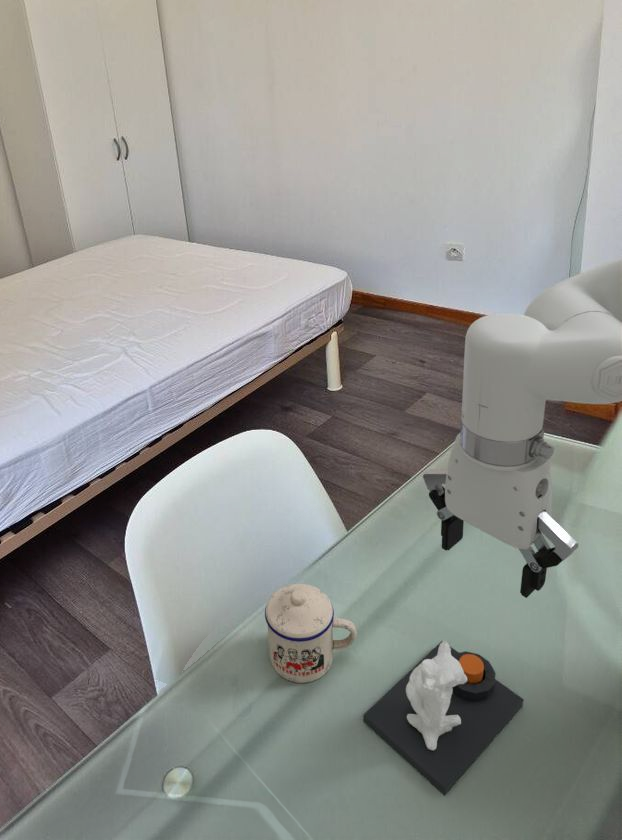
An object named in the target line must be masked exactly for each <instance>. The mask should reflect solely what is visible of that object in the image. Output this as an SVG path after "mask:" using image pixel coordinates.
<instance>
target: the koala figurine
mask: <svg viewBox="0 0 622 840" xmlns="http://www.w3.org/2000/svg"><path fill="white" fill-rule="evenodd" d="M442 641H443V642H442V643H441V644H440V646H439V648H438V654H437V656H435V657H434V658H432V659H425V660H423V661H422V663H421V664H420V665H419V666H418V667H416V668H415V669H414V670H413V672H412V673H411V675H410V678H409V679H410V681H409V682H408V684H407V686H406V694H407V697H408V699H409V701H410V702H411V705H412V707H413V709H414V711H415V712H416V713H417V714H418V715H417V714H408V715H407V720H408V722H409V723H410V724H411V725H412V726H414V727H415V728H417V730H418V731H419V732H421V733H422V735H423V738H424V740H425V743H426V746H427V748H428V749H430V750H435V749H436V747H437V740H438V737H439V736H440V735H442V734H444V733H445V732H448V731H451V730H452V727H454V726H457V725H460V724H461V718H460V717H459V715H449V716H445V715H446V712H447V710H448V707H449V705H450V698H451V695H452V691H453V688H452V687H455V686H456V685H458V684H464V683H466V682H467V677H466V675H465V674H464V671H463V669H462V667H461V664H460V663H459V662H458V660H456V659H455V658H454V657H453V656H452V655H451V649H450V647H451V646H450V644H449V643H448V642H447V641H445V640H442Z"/></svg>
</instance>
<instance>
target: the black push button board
mask: <svg viewBox="0 0 622 840" xmlns="http://www.w3.org/2000/svg"><path fill="white" fill-rule="evenodd" d="M443 641H444V640H441V641H440V642H439V643H438V644H437V645H436V646H435V647H434V648H433V649H432V650H431V651H429V652H428V654H426V655H425V656H424V657H423V658H422V659H421V660H420V661H418V663H417V664H416V665H415V666H413V667H412V669H410V670H409V671H408V672H407V673H406V674H405V675H404V676H403V677H402V678H401V679H399V680H398V682H397V683H395V684H394V685H393V686H392V687H391V688H390V689H389V690H388V691H387V692H386V693H385V694H383V695H382V697H381V698H380V699H378V700H377V701H376V702H375V703H374V704H373V705H372V706H371V707H370V708H369V709H368V710H367V711H366V712H365V713H363V716H362V717H363V720H362V721H363V723H364V724H365V725H366V726H367V727H368V728H369V729H371V730H372V731H373V732H374V733H375V734H376V735H377V736H378V737H380V738H381V739H382V740H383V742H385V743H386V744H387V745H388V746H389V747H390V748H391V749H392V750H394V752H395V753H397V754H398V755H399V756H400V757H401V758H402V759H403V760H404V761H406V762H407V763H408V764H409V765H410V766H411V767H412V768H414V769H415V771H417V772H418V773H419V774H420V775H421V776H422V778H424V779H425V780H427V782H429V784H431V785H432V786H433V787H434V788H435V789H437V791H439V792H440V793H441V794H442V796H447V794H448V793H449V791H450V790H452V788H453V787H454V786H455V785H456V784H457V782H458V781H459V780H461V778H462V777H463V776H464V774H465V773H466V772H467V771H468V770H469V769H470V768H471V766H473V764H474V763H475V762H476V761H477V760H478V759H479V757H480V756H481V755H482V754H483V752H485V750H486V749H487V748H488V747H489V746H490V744H491V743H492V742H493V741H494V740H495V739H496V738H497V737H498V735H499V734H500V733H501V732H502V731H503V730H504V729H505V728H506V726H507V725H508V724H509V723H510V721H511V720H513V718H514V717H515V716H516V714H518V713H519V711H520V710H521V709H522V708H523V706H524V698H523V697H521V696H519V695H518V694H517V693H516V692H514V691H513V690H511V689H510V688H509V687H507V686H506V685H504V684H503V683H502V682H500V681H499V680H497V679H496V671H495V669H494V668H493V666H492V663H490V661H489V660H488V659H486V658H485V657H483V656H482V655H480V654H479V653H475V652H471V651H461V652H459V651H457V650H456V649H455V648H453V647H452V646H450V649H451V655H452V656H453V657H454V658H455V659H456V660H458V662H459V659H460V658H461V657H462V656H463V655H466V654H472V655H475V656H477V657H479V658H480V659H481V660H482V662H483V664H484V671H483V678H482V680H481V681H480V682H479V683H476V684H471V683H467V682H466V683H464V684H458V685H456V686H455V687H452V688H453V691H452V695H451V698H450V705H449V707H448V710H447V712H446V715H445V716H449V715H459V717H460V718H461V724H460V725H457V726H454V727H452V730H451V731H448V732H445V733H444V734H442V735H440V736H439V737H438V740H437V747H436V749H435V750H430V749H428V748H427V746H426V743H425V740H424V738H423V735H422V733H421V732H419V731H418V730H417V728H415V727H414V726H412V725H411V724H410V723H409V722H408V720H407V715H408V714H417V713H416V712H415V711H414V709H413V707H412V705H411V702H410V701H409V699H408V697H407V694H406V686H407V684H408V682H409V681H410V679H409V678H410V675H411V673H412V672H413V670H414V669H415V668H416V667H418V666H419V665H420V664H421V663H422V661H423V660H425V659H432V658H434V657H435V656H437V654H438V648H439V646H440V644H441V643H442V642H443ZM417 715H418V714H417Z"/></svg>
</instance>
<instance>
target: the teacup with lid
mask: <svg viewBox="0 0 622 840" xmlns="http://www.w3.org/2000/svg"><path fill="white" fill-rule="evenodd" d="M264 618H265V622H266V624H267V635H268V647H269V648H268V649H269V659H270V663H271V666H272V667H273V669H274V671H275V672H276V673H277V674H278V675H279V676H280V677H282V678H283V679H285V680H287V681H290V682H294V683H299V684H302V683H306V684H307V683H310V682H314V681H317V680H318V679H320V678H322V677H323V676H324V675H326V673H328V671H329V670H330V668H331V666H332V664H333V660H334V650H343V649H347V648H349V647H351V646H352V645H353V644H354V643H355V641H356V638H357V628H356V625H355V624H354V623H353V622H352V621H351V620H348V619H347V618H342V617H335V610H334V606H333V603H332V602H331V600H330V598H329V597H328V596H327V595H326V593H325V592H324V591H323V590H321V589H320V588H318V587H315V586H314V585H310V584H306V583H292V584H288V585H285V586H282V587H280V588H278V589H277V590H276V591H275V592H273V594H272V595H271V596H270V597H269V598H268V600H267V602H266V605H265V609H264ZM333 628H341V629H345V630H347V631H349V635H348V636H347V637H345V638H343V639H333V635H334V634H333Z"/></svg>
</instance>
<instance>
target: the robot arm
mask: <svg viewBox="0 0 622 840" xmlns="http://www.w3.org/2000/svg"><path fill="white" fill-rule="evenodd" d="M463 357H464V358H463V374H462V376H463V378H462V393H461V394H462V395H461V397H462V398H461V415H460V416H461V417H460V432H459V433H458V434H457V435H456V437H455V438H454V439H455V440H454V442H453V445H452V449H451V451H450V454H449V455H450V456H449V459H448V464H447V468H437V469H434V468H431V469H429V470H427V471H426V472H425V473H423V475H422V478H423V482H424V483H425V486H426V488H427V490H428V497H429V499H430V500H431V502H432V503H433V505H434V506H435V508H436V510H437V511H436V516H437V518H438V519H440V521H441V522H440V523H441V524H440V536H441V549H442V550H444V551H450V550H451V549H452V548H453V547H455V545H457V544H458V543H459V542H460V541H461V540H462V539H463V537H464V524H465V523H467V524H469V525H470V526H472V527H474V528H476V529H478V530H480V531H482V532H483V533H485V534H487V535H489V536H490V537H492V538H495V539H497V540H498V541H500V542H502V543H504V544H506V545H508V546H511V547H513V548H515V549H518V550H519V552H520V554H521V555H522V557H523V558H524V560H525V562H526V563H525V564H524V565H523V567H522V571H521V579H520V580H521V581H520V590H519V592H520V595H521V596H522V597H523V598H526V599H527V598H529V596H531V595H532V593H534V591H537V592H539V591H541V589H542V588H543V587H544V585H545V583H546V578H547V569H548V568H553V567H557V566H559V565H560V564H561V563H562V562H563V561H565V560H566V559H567V558H569V557H570V556H571V555H573V553H574V552H575V551H576V550H577V549H578V548H579V543H578V542H577V541H576V540H575V538H573V537H572V536H571V535H570V533H568V532H567V531H566V530H565V529H564V528H563V527H562V526H561V525H560V524H559V523H558V522H556V521H555V519H554V518H552V514H553V513H552V512H553V481H552V471H551V465H550V459H551V458H552V457H553V455H554V451H555V447H554V446H553V445H551V444H548V442H547V441H545V440H544V437H545V436H544V435H545V430H544V429H543V428H544V427H543V426H544V418H545V411H546V410H545V409H546V402H547V401H557V402H566V403H567V402H568V403H577V404H587V405H588V404H589V405H609V404H615V403H620V402H622V258H618V259H614V260H611V261H607V262H604V263H601V264H599V265H596V266H593V267H592V268H589V269H587V270H585V271H582V272H580V273H577V274H575V275H573V276H570V277H568V278H566V279H563V280H561V281H559V282H557V283H555V284H553V285H552V286H550V287H548V288H547V289H545V290H544V291H542V292H541V293H539V294H538V295H537V296H536V297H535V298H534V299H533V300H531V302H530V303H529V304H528V306H527V307H526V309H525V311H524V314H519V313H508V312H500V313H499V312H498V313H491V314H487V315H484V316H481V317H479V318H478V319H476V320H474V321H473V322H472V323H471V324H470V326H469V327H468V329H467V331H466V334H465V341H464V356H463ZM443 485H444V486H443ZM545 537H546V538H547V539H548V540H549V541H550V542H551V543H552V544H553V546H554V547H550V545H549V543H548V541H547V540H546V538H545ZM532 545H534V547H535V549H536V550H537V551H536V552H535V550H534V548H533V547H532Z"/></svg>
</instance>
